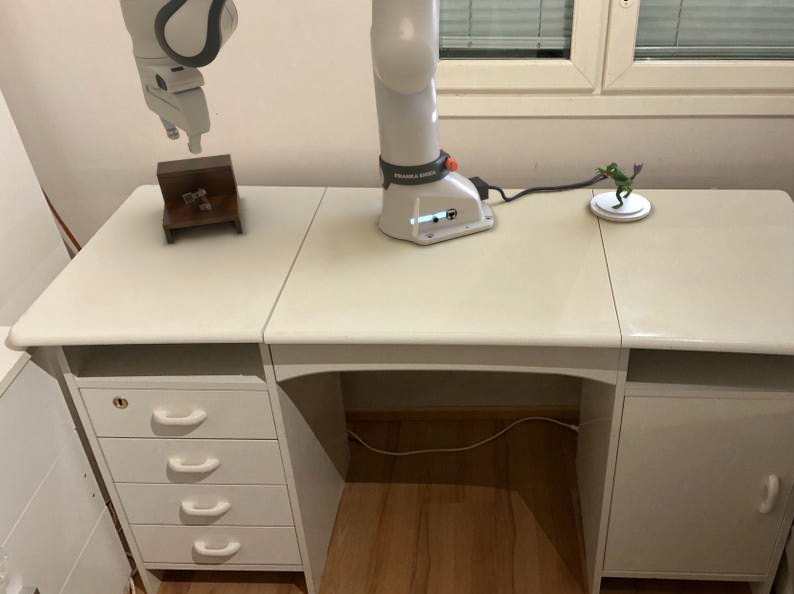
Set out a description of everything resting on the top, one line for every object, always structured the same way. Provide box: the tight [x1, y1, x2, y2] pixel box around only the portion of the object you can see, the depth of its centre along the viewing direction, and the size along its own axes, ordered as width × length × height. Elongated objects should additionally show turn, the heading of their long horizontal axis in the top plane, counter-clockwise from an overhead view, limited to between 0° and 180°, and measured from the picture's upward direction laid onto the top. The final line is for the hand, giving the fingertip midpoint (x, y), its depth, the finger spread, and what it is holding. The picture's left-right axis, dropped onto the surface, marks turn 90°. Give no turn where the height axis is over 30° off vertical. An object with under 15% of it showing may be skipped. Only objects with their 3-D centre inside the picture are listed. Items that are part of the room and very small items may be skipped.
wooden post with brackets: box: [182, 188, 212, 211], centre depth 149 cm, size 2×8×4 cm, turn 48°
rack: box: [155, 153, 244, 245], centre depth 151 cm, size 14×16×10 cm
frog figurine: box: [589, 162, 651, 223], centre depth 153 cm, size 12×12×10 cm
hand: (184, 145), depth 142 cm, fingers open, 8 cm apart
